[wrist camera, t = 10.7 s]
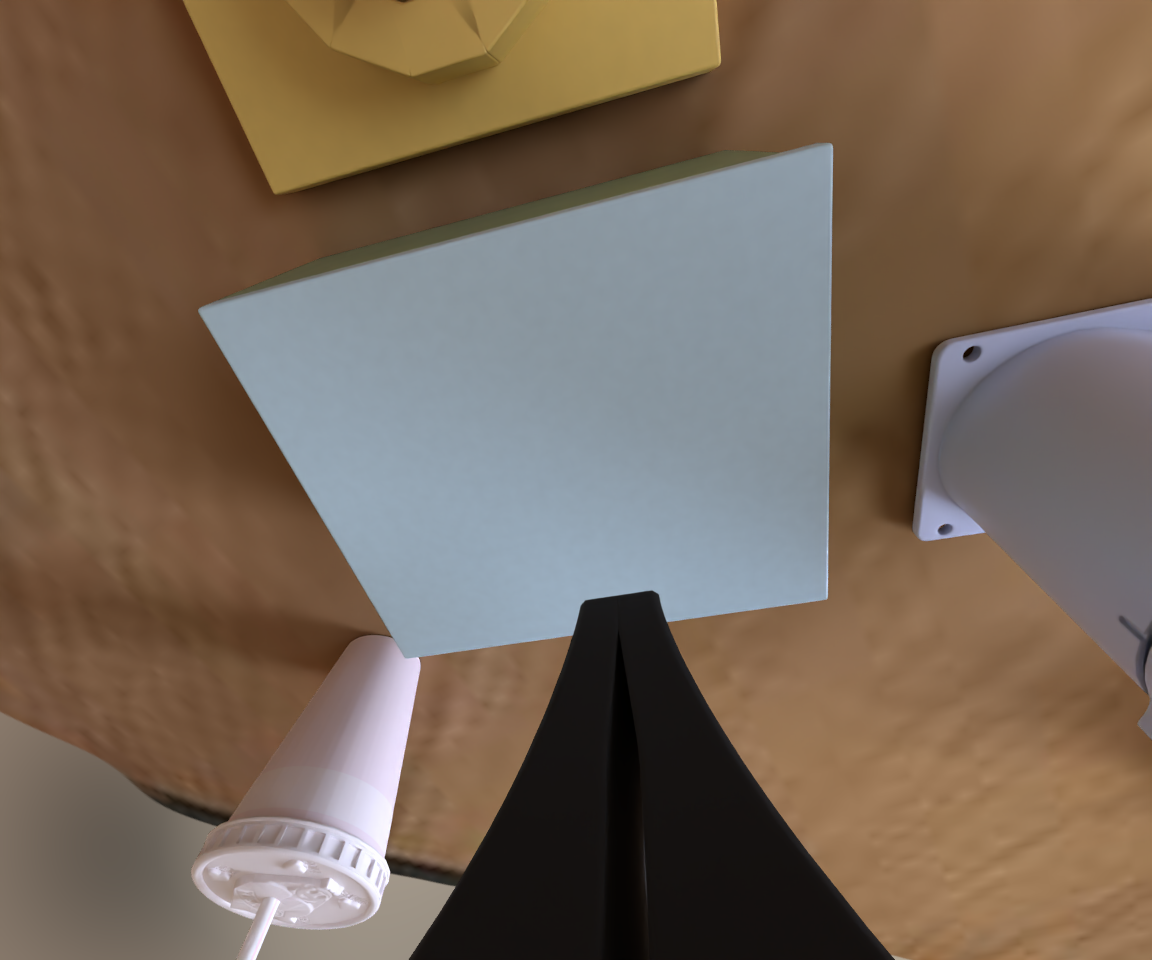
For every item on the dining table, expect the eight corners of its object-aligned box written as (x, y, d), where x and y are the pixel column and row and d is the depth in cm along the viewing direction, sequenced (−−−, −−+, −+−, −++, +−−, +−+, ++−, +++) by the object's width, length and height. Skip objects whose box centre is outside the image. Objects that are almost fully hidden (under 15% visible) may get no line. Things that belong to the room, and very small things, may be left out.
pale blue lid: (821, 141, 10) (834, 141, 10) (820, 583, 16) (828, 600, 15) (214, 301, 12) (194, 308, 11) (411, 643, 18) (404, 660, 17)
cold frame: (727, 149, 15) (782, 151, 10) (753, 491, 20) (795, 587, 16) (317, 258, 16) (215, 300, 12) (448, 543, 22) (411, 641, 18)
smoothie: (289, 633, 26) (22, 1058, 14) (403, 600, 24) (215, 1041, 12) (365, 712, 29) (201, 1113, 17) (471, 686, 27) (373, 1105, 15)
